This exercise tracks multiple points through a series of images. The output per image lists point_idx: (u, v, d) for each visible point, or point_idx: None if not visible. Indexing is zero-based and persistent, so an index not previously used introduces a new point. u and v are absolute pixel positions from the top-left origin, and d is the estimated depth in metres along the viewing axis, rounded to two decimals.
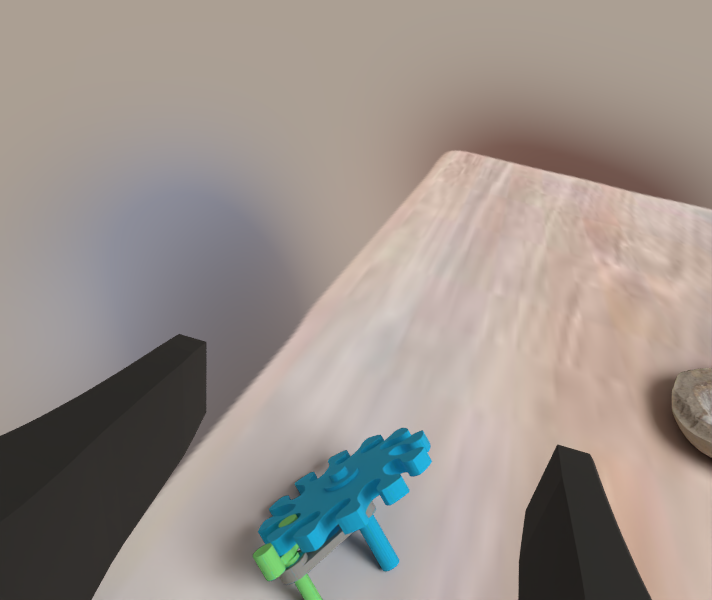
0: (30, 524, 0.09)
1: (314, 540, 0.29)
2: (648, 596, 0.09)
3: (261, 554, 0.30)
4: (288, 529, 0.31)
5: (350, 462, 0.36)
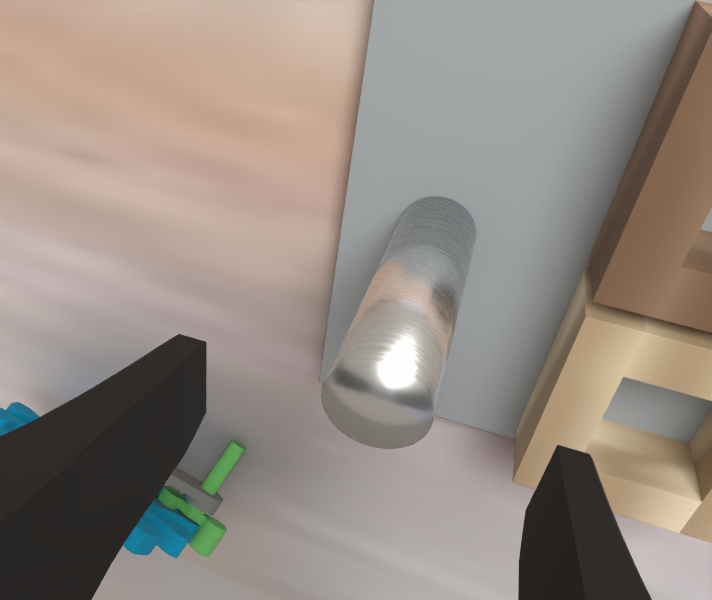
0: (30, 524, 0.09)
1: (178, 547, 0.26)
2: (648, 596, 0.09)
3: None
4: None
5: None
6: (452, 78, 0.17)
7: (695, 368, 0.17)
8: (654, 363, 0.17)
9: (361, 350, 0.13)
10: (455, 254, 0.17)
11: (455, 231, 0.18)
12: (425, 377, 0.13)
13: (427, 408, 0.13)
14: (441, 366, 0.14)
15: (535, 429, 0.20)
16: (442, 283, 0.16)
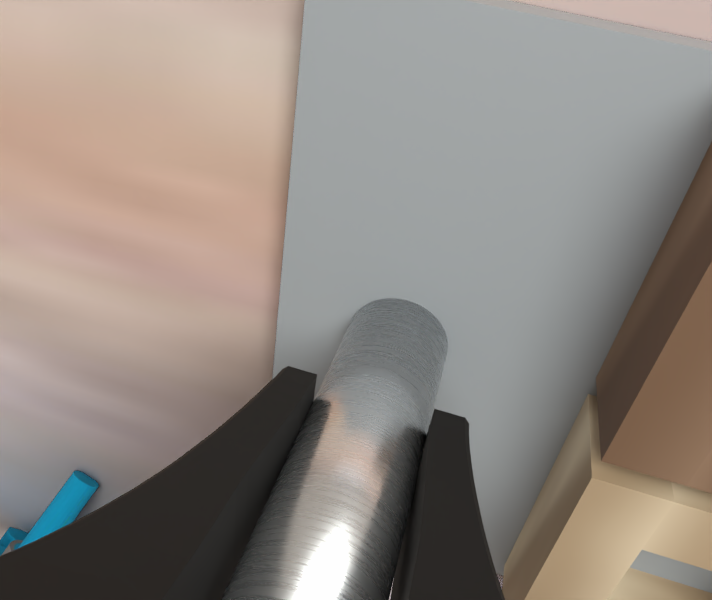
0: (190, 580, 0.08)
1: None
2: (484, 544, 0.09)
3: None
4: None
5: None
6: (410, 154, 0.13)
7: None
8: (685, 538, 0.13)
9: None
10: (413, 395, 0.12)
11: (415, 356, 0.13)
12: None
13: None
14: None
15: (525, 596, 0.15)
16: (391, 453, 0.11)
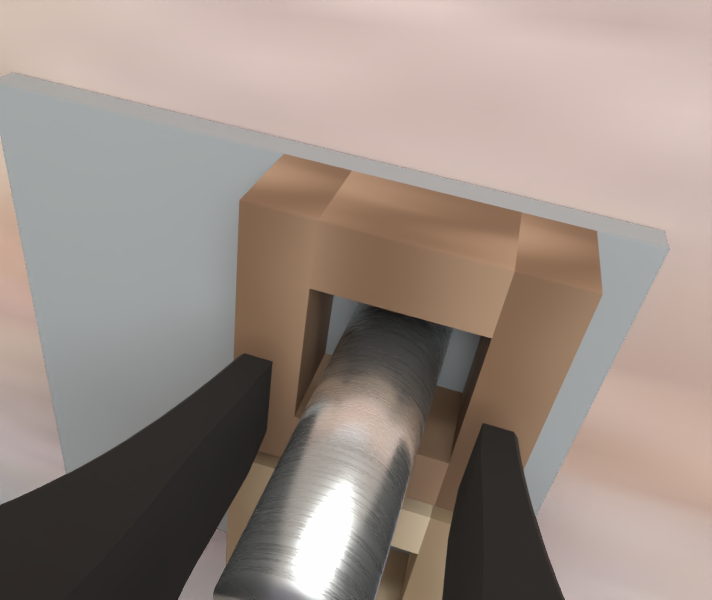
0: (126, 557, 0.08)
1: None
2: (548, 564, 0.09)
3: None
4: None
5: None
6: (93, 212, 0.17)
7: None
8: None
9: (257, 552, 0.10)
10: (415, 365, 0.13)
11: (418, 329, 0.14)
12: (346, 590, 0.09)
13: None
14: (378, 555, 0.10)
15: (227, 551, 0.20)
16: (391, 417, 0.12)
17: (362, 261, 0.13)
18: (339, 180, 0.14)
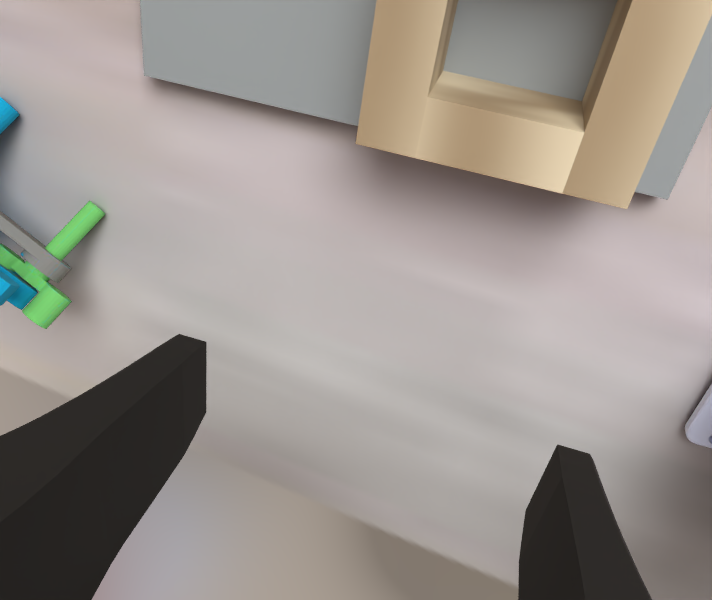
0: (30, 524, 0.09)
1: None
2: (648, 596, 0.09)
3: (39, 325, 0.23)
4: None
5: None
6: None
7: None
8: None
9: None
10: None
11: None
12: None
13: None
14: None
15: (370, 44, 0.15)
16: None
17: None
18: None
